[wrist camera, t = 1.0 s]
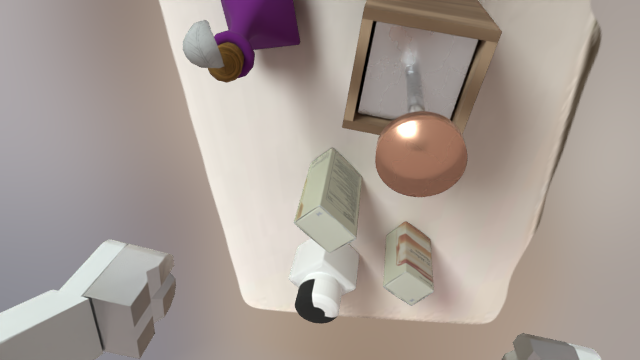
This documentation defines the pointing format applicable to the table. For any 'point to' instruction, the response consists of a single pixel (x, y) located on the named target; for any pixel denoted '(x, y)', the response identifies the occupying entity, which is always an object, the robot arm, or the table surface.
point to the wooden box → (433, 15)
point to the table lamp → (417, 106)
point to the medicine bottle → (322, 279)
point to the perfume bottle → (241, 36)
